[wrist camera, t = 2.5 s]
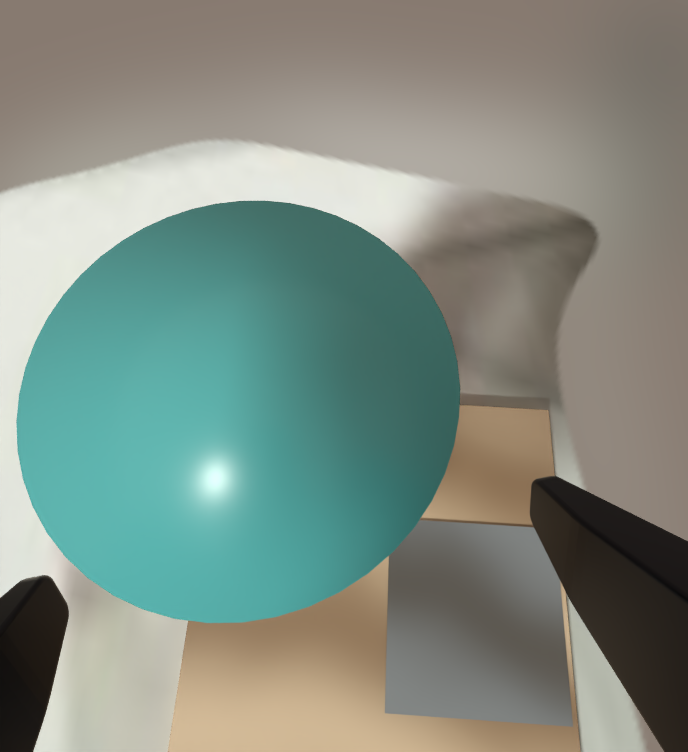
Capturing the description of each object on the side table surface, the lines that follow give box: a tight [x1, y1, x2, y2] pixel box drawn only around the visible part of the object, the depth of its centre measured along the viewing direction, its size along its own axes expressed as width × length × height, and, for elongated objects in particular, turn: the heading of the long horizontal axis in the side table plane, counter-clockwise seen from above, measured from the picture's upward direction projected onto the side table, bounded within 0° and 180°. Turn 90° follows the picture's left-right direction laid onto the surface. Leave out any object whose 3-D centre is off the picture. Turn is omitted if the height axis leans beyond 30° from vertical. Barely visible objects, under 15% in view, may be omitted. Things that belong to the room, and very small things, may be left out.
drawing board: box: [168, 405, 580, 752], centre depth 15 cm, size 18×13×1 cm
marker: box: [17, 201, 460, 623], centre depth 11 cm, size 5×5×13 cm
